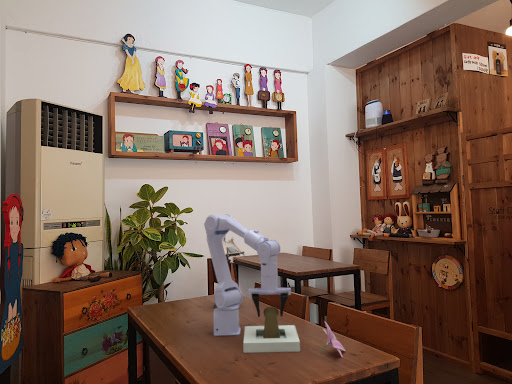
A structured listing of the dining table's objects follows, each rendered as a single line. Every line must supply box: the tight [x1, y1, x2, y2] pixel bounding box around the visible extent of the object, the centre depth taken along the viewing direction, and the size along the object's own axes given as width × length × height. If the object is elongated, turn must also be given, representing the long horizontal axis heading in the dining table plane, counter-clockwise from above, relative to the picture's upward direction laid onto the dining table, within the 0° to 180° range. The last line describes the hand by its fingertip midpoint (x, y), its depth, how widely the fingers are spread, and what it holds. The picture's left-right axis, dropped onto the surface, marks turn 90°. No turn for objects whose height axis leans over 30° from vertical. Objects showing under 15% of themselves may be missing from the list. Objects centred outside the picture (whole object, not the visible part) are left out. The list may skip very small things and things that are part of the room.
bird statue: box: [212, 235, 245, 310], centre depth 179 cm, size 17×13×35 cm
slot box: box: [242, 324, 301, 354], centre depth 131 cm, size 18×18×3 cm
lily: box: [320, 321, 346, 358], centre depth 120 cm, size 11×11×9 cm
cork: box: [263, 306, 280, 339], centre depth 132 cm, size 6×6×11 cm
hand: (270, 315), depth 131 cm, fingers open, 7 cm apart
